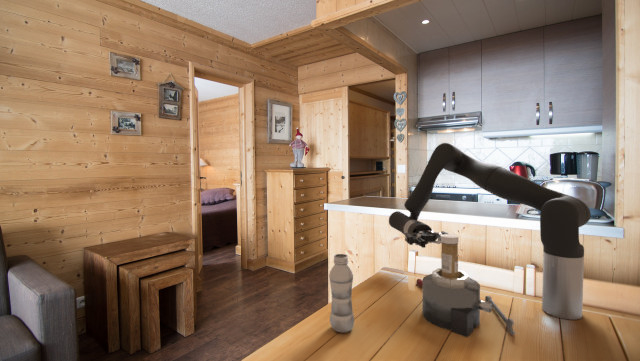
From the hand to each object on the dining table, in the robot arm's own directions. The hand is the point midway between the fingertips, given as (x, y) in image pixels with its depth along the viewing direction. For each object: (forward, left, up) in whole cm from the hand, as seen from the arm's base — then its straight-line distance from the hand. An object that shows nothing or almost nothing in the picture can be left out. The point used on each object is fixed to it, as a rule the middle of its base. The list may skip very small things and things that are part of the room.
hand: (437, 243), depth 97 cm
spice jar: (+5, +6, -9) cm, 12 cm away
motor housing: (+5, +7, -19) cm, 21 cm away
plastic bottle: (+31, -12, -19) cm, 38 cm away
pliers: (-9, -4, -20) cm, 22 cm away
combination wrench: (-4, +16, -19) cm, 26 cm away
